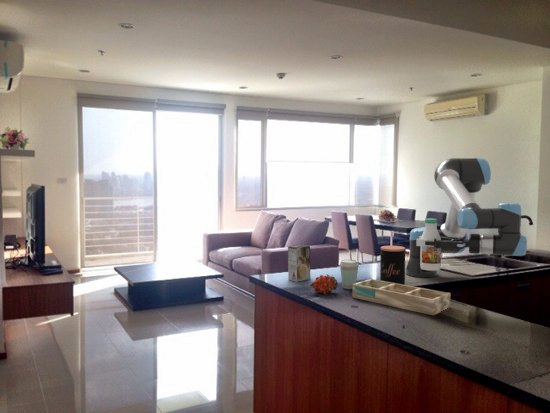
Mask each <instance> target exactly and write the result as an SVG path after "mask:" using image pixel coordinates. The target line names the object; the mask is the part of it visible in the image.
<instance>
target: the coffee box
mask: <svg viewBox="0 0 550 413" xmlns="http://www.w3.org/2000/svg"><path fill="white" fill-rule="evenodd" d="M287 262H288V265H287V266H288V267H287V268H288V271H287V272H288V273H287V275H288V280H289V281H293V282H301V281H306V280H311V245H305V244H297V245H292V246H287Z"/></svg>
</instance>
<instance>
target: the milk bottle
mask: <svg viewBox="0 0 550 413" xmlns="http://www.w3.org/2000/svg"><path fill="white" fill-rule="evenodd" d="M424 225H425V226H424V227H425V230H424V232H423V234H422V237H421V239H432V240H434V238H436V240H441V238H440V235H439V233H438V230H439V229H438V227H437V225H438V219H437V218H425V219H424ZM420 267H421V269H423V270H429V271H436V270H437V271H440V270H441V268H442V253H441V248H435V247H428V246H421V252H420Z"/></svg>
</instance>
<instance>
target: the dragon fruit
mask: <svg viewBox="0 0 550 413" xmlns="http://www.w3.org/2000/svg"><path fill="white" fill-rule="evenodd" d="M338 285H339V283H338V280H337V278H335V277H334V276H332V275H331V276H330V275H329V274H326V275H322V274H319V276H318V277H316V278H315V280H314V281H313V282H312V283H311V284H310V287H312V288H313V292H315V293H318V294H322V293H323V294H324V295H326V294H330V293H331V294H332V292H333V291H336V290H337V287H338Z"/></svg>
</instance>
